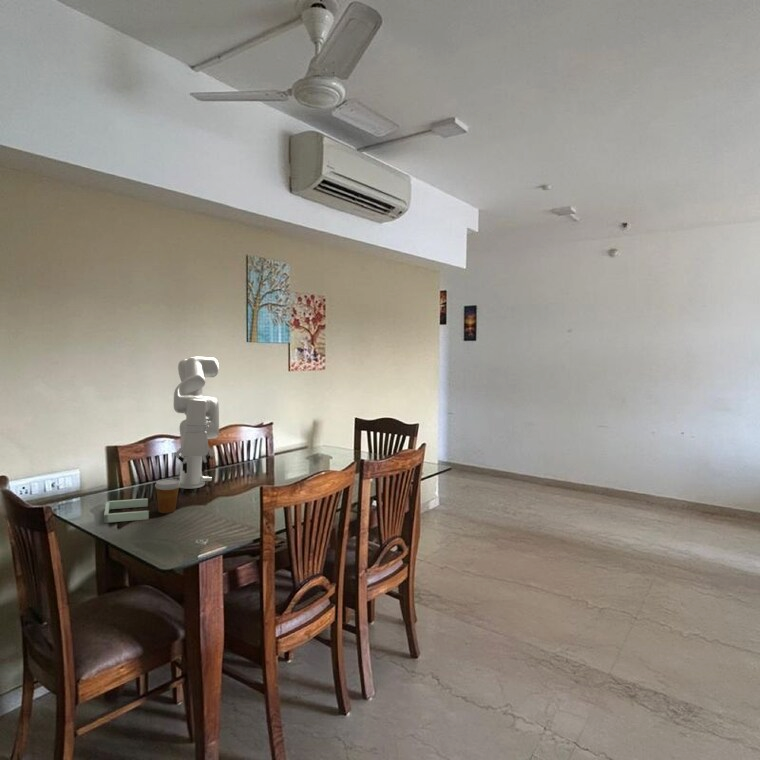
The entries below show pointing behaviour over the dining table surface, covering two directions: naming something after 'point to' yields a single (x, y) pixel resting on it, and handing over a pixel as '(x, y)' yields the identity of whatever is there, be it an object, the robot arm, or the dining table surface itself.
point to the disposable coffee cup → (167, 494)
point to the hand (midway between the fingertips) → (194, 471)
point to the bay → (125, 515)
